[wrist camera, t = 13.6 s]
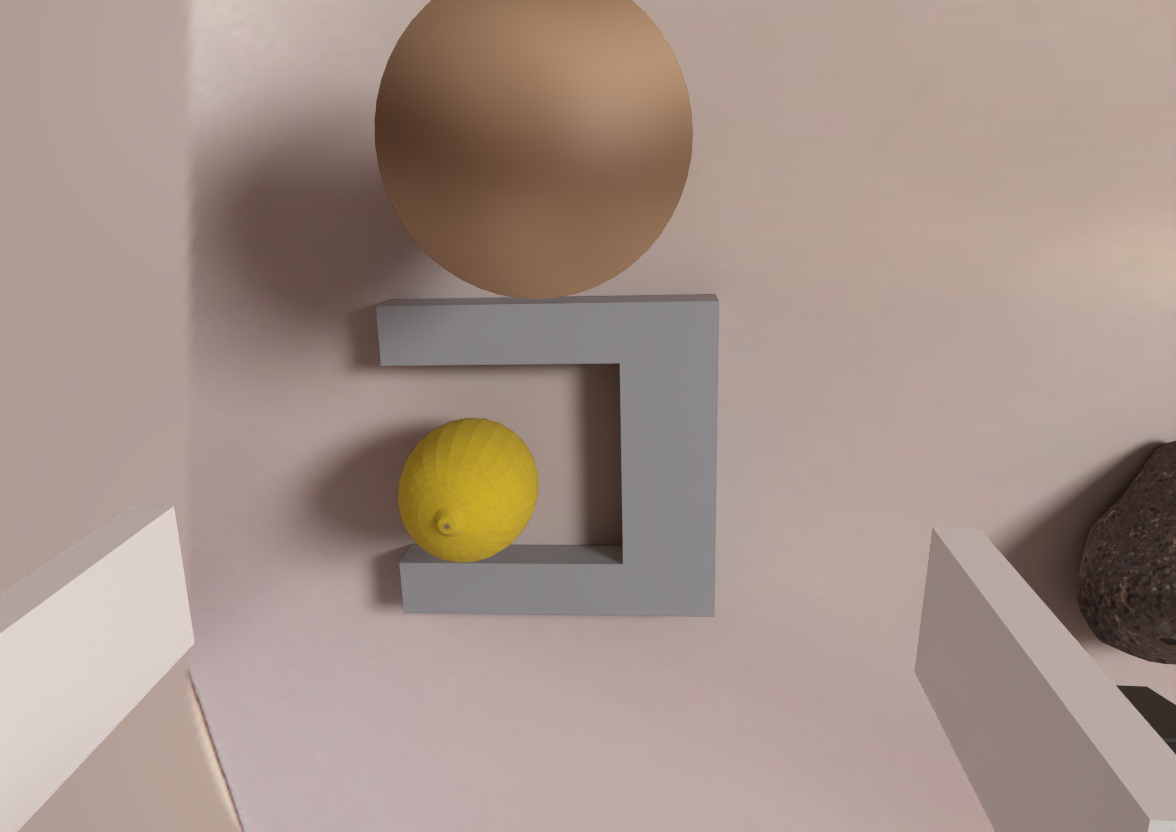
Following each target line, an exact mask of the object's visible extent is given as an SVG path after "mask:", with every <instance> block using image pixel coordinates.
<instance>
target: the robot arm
mask: <svg viewBox="0 0 1176 832" xmlns="http://www.w3.org/2000/svg"><path fill="white" fill-rule="evenodd" d="M194 643H195V642H194V636H193V629H192V622H191V616H190V609H189V603H188V596H187V589H186V583H185V576H184V569H183V563H182V556H181V550H180V543H179V536H178V530H177V523H176V517H175V511H174V506H157V505H131V506H130V507H128V508H127V509H125V510H124V511H122V512H121V513H119V514H118V515H116V516H115V517H113V518H112V519H110V520H109V521H108V522H106V523H105V524H103V525H102V526H100V527H99V528H97V529H96V530H94V531H93V532H91V533H90V534H88V535H87V536H85V537H84V538H82V539H81V540H79V541H78V542H76V543H75V544H73V545H72V546H70V547H69V548H68V549H66V550H64V551H63V552H62V553H60V554H59V555H57V556H56V557H54V558H53V559H51V560H50V561H48V562H47V563H45V564H44V565H42V566H41V567H39V568H38V569H36V570H35V571H33V572H32V573H30V574H29V575H27V576H26V577H24V578H23V579H21V580H20V581H18V582H17V583H15V584H14V585H13V586H11V587H10V588H8V589H7V590H5V591H4V592H2V593H1V594H0V832H17V831H18V830H19V829H20V828H21V827H22V826H23V825H24V824H25V823H26V822H27V821H28V820H29V819H30V818H31V817H32V815H33V814H34V813H35V812H36V811H37V810H38V809H39V808H40V807H41V806H42V805H43V804H44V803H45V802H46V801H47V799H48V798H49V797H50V796H51V795H52V794H53V793H54V792H55V791H56V790H57V789H58V788H59V787H60V786H61V785H62V784H63V782H64V781H65V780H66V779H67V778H68V777H69V776H70V775H71V774H72V773H73V772H74V771H75V770H76V769H77V767H78V766H79V765H80V764H81V763H82V762H83V761H84V760H85V759H86V758H87V757H88V756H89V755H90V754H91V753H92V752H93V751H94V749H95V748H96V747H97V746H98V745H99V744H100V743H101V742H102V741H103V740H104V739H105V738H106V737H107V736H108V735H109V733H110V732H111V731H112V730H113V729H114V728H115V727H116V726H117V725H118V724H119V723H120V722H121V721H122V720H123V719H124V717H125V716H126V715H127V714H128V713H129V712H130V711H131V710H132V709H133V708H134V707H135V706H136V705H137V704H138V702H139V701H140V700H141V699H142V698H143V697H144V696H145V695H146V694H147V693H148V692H149V691H150V690H151V689H152V688H153V686H155V684H156V683H157V682H158V681H159V680H160V679H161V678H162V677H163V676H164V675H165V673H167V672H168V671H169V670H170V668H171V667H172V666H173V665H174V664H175V663H176V662H177V661H178V660H179V659H180V658H181V657H182V656H183V655H184V654H185V653H186V651H187V650H188V649H189V648H190V647H191V646H192V645H193V644H194ZM915 673H916V675H917V677H918V679H919V681H920V683H921V685H922V687H923V689H924V691H925V693H926V695H927V697H928V699H929V701H930V703H931V705H932V707H933V709H934V711H935V713H936V715H937V717H938V719H939V721H940V723H941V725H942V727H943V729H944V731H945V733H946V735H947V737H948V739H949V741H950V743H951V745H952V747H953V749H954V751H955V753H956V755H957V757H958V759H959V761H960V763H961V765H962V767H963V769H964V771H965V773H966V775H967V777H968V779H969V781H970V783H971V784H972V786H973V788H974V790H975V792H976V794H977V796H978V798H979V800H980V802H981V804H982V806H983V808H984V810H985V812H986V814H987V816H988V818H989V820H990V822H991V824H992V826H993V828H994V830H995V832H1176V705H1175V704H1173V703H1172V702H1170V701H1168V700H1167V699H1165V698H1164V697H1162V696H1161V695H1159V694H1157V693H1156V692H1154V691H1153V690H1151V689H1149V688H1148V687H1141V686H1116V685H1115V684H1114V683H1113V682H1112V680H1111V679H1110V678H1109V677H1108V676H1107V675H1106V674H1105V672H1104V671H1103V670H1102V669H1101V668H1100V667H1099V665H1098V664H1097V663H1096V662H1095V661H1094V660H1093V659H1092V657H1091V656H1090V655H1089V654H1088V653H1087V652H1086V651H1085V649H1084V648H1083V647H1082V646H1081V645H1080V644H1079V642H1078V641H1077V640H1076V639H1075V638H1074V637H1073V636H1072V634H1071V633H1070V632H1069V631H1068V630H1067V629H1066V627H1065V626H1064V625H1063V624H1062V623H1061V622H1060V621H1059V619H1058V618H1057V617H1056V616H1055V615H1054V614H1053V612H1052V611H1051V610H1050V609H1049V608H1048V607H1047V606H1046V604H1045V603H1044V602H1043V601H1042V600H1041V599H1040V597H1039V596H1038V595H1037V594H1036V593H1035V592H1034V591H1033V589H1032V588H1031V587H1030V586H1029V585H1028V584H1027V583H1026V581H1025V580H1024V579H1023V578H1022V577H1021V576H1020V574H1019V573H1018V572H1017V571H1016V570H1015V569H1014V568H1013V566H1012V565H1011V564H1010V563H1009V562H1008V561H1007V559H1006V558H1005V557H1004V556H1003V555H1002V554H1001V553H1000V551H999V550H998V549H997V548H996V547H995V546H994V544H993V543H992V542H991V541H990V540H989V539H988V538H987V536H986V535H985V534H984V533H983V532H982V531H981V529H971V528H936V527H933V528H932V536H931V544H930V552H929V560H928V568H927V576H926V585H925V593H924V601H923V609H922V617H921V625H920V633H919V641H918V649H917V657H916V665H915Z"/></svg>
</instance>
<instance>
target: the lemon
mask: <svg viewBox="0 0 1176 832" xmlns="http://www.w3.org/2000/svg"><path fill="white" fill-rule="evenodd" d="M537 496H538V473H537V469H536V466H535V462H534V459H533V456H532V454H531V453H530V451H529V449H528V448H527V446H526V445H525V443H524V442H523V441H522V440H521V439H520V438H519V437H518V436H517V435H516V434H515V433H514V432H513V431H511V430H510V429H508V428H507V427H505V426H503V425H502V424H500V423H497V422H493V421H490V420H487V419H478V418H466V419H460V420H455V421H451V422H449V423H446V424H444V425H442V426H440V427H438V428H436V429H434V430H433V431H432V432H430V433H429V434H428V435H427V436H426V437H425V438H423V439H422V440H421V441H420V442H419V443H418V444H417V446H416V447H415V448H414V450H413V451H412V453H411V454H410V456H409V457H408V459H407V460H406V463H405V465H404V468H403V472H402V475H401V478H400V481H399V491H398V505H399V510H400V515H401V519H402V522H403V524H404V526H405V528H406V530H407V532H408V534H409V535H410V536H411V537H412V539H413V540H414V541H415V542H416V543H417V544H418V545H419V546H420V547H421V548H423V549H424V550H425V551H427V552H428V553H429V554H431V555H433V556H436V557H438V558H440V559H442V560H446V561H452V562H457V563H462V562H475V561H479V560H482V559H486V558H489V557H491V556H493V555H495V554H496V553H498V552H500V551H501V550H503V549H505V548H506V547H508V546H509V545H510V544H511V543H512V542H513V541H514V540H515V539H516V538H517V537H518V536H519V535H520V534H521V533H522V531H523V530H524V529H525V527H526V525H527V523H528V521H529V520H530V518H531V516H532V514H533V512H534V509H535V505H536V500H537Z"/></svg>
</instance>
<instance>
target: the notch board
mask: <svg viewBox="0 0 1176 832" xmlns="http://www.w3.org/2000/svg"><path fill="white" fill-rule="evenodd" d="M376 317H377V328H378V339H379V349H380V360H381V366H415V365H511V364H607V363H620V413H621V474H622V535H623V546H621V545H509V546H508V547H506V548H505V549H503V550H501V551H500V552H498V553H496V554H495V555H493V556H491V557H489V558H486V559H482V560H479V561H475V562H462V563H457V562H452V561H446V560H442V559H440V558H438V557H436V556H433V555H431V554H429V553H428V552H427V551H425V550H424V549H423V548H421V547H420V546H419V545H418V544H411V545H410V547H409V548H408V550H407V552H406V553H405V555H404V556H403V558H402V559H401V561H400V562H399V566H400V577H401V588H402V598H403V609H404V613H426V614H512V615H599V616H686V617H714V599H715V532H716V464H717V397H718V329H719V300H718V298H717V296H716V294H696V295H635V296H573V297H557V298H545V299H528V298H516V297H512V298H450V299H390V300H388V301H386V302H383V303H381V304H379V305H377V306H376Z"/></svg>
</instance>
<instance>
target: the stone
mask: <svg viewBox="0 0 1176 832" xmlns="http://www.w3.org/2000/svg"><path fill="white" fill-rule="evenodd" d="M1077 591H1078V601H1079V606H1080V611H1081V613H1082V615H1083V617H1084V618H1085V619H1086V621H1087V623H1088V625H1089V627H1090V629H1091V630H1092V631H1093V633H1094V634H1095V636H1096V637H1097V638H1098V639H1099V640H1100V641H1101V642H1103V643H1105V644H1107V645H1110V646H1112V647H1114V648H1116V649H1119V650H1121V651H1123V652H1125V653H1128V654H1130V655H1133V656H1136V657H1138V658H1141V659H1144V660H1147V661H1151V662H1157V663H1163V664H1176V441H1173V442H1169V443H1166V444H1162V445H1160V446H1159V447H1158V448H1157V449H1156V451H1155V452H1154V453H1153V454H1152V455H1151V456H1150V458H1149V459H1148V461H1147V462H1146V464H1145V465H1144V466H1143V468H1142V469H1141V471H1140V472H1139V474H1138V475H1137V476H1136V478H1135V479H1134V481H1133V482H1132V484H1131V485H1130V486H1129V488H1128V489H1127V491H1126V492H1125V493H1124V495H1123V496H1122V497H1121V498H1120V499H1119V500H1118V501H1117V502H1116V503H1115V504H1114V505H1113V506H1112V507H1110V508H1109V509H1108V510H1107V511H1106V512H1105V513H1104V514H1103V515H1102V516H1101V517H1100V518H1099V519H1098V520H1097V521H1096V522H1095V523H1094V524H1093V525H1092V526H1091V528H1090V531H1089V534H1088V536H1087V541H1086V545H1085V548H1084V552H1083V556H1082V559H1081V565H1080V571H1079V578H1078V589H1077Z"/></svg>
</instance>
